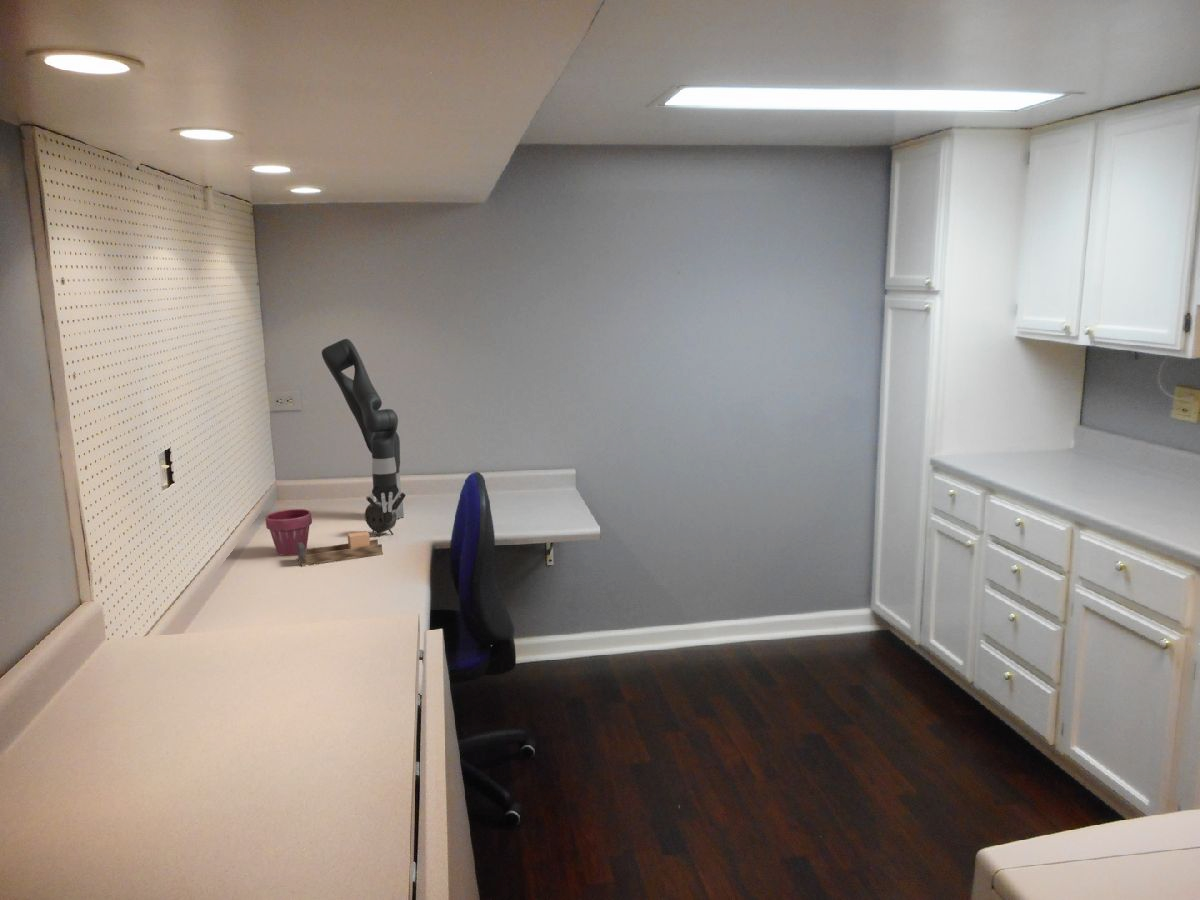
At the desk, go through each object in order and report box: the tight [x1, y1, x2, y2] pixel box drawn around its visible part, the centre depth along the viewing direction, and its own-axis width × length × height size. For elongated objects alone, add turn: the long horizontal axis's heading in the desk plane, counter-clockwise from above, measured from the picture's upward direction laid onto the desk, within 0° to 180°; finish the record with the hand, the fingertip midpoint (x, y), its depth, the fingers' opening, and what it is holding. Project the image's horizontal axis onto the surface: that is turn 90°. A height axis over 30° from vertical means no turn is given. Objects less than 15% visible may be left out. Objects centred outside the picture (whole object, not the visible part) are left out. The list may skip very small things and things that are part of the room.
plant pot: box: [265, 508, 313, 556], centre depth 281 cm, size 14×14×13 cm
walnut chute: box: [297, 539, 384, 567], centre depth 275 cm, size 25×9×6 cm, turn 116°
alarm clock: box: [364, 500, 397, 537], centre depth 299 cm, size 11×5×16 cm, turn 65°
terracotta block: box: [347, 530, 371, 549], centre depth 277 cm, size 6×5×6 cm
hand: (387, 522), depth 280 cm, fingers closed
